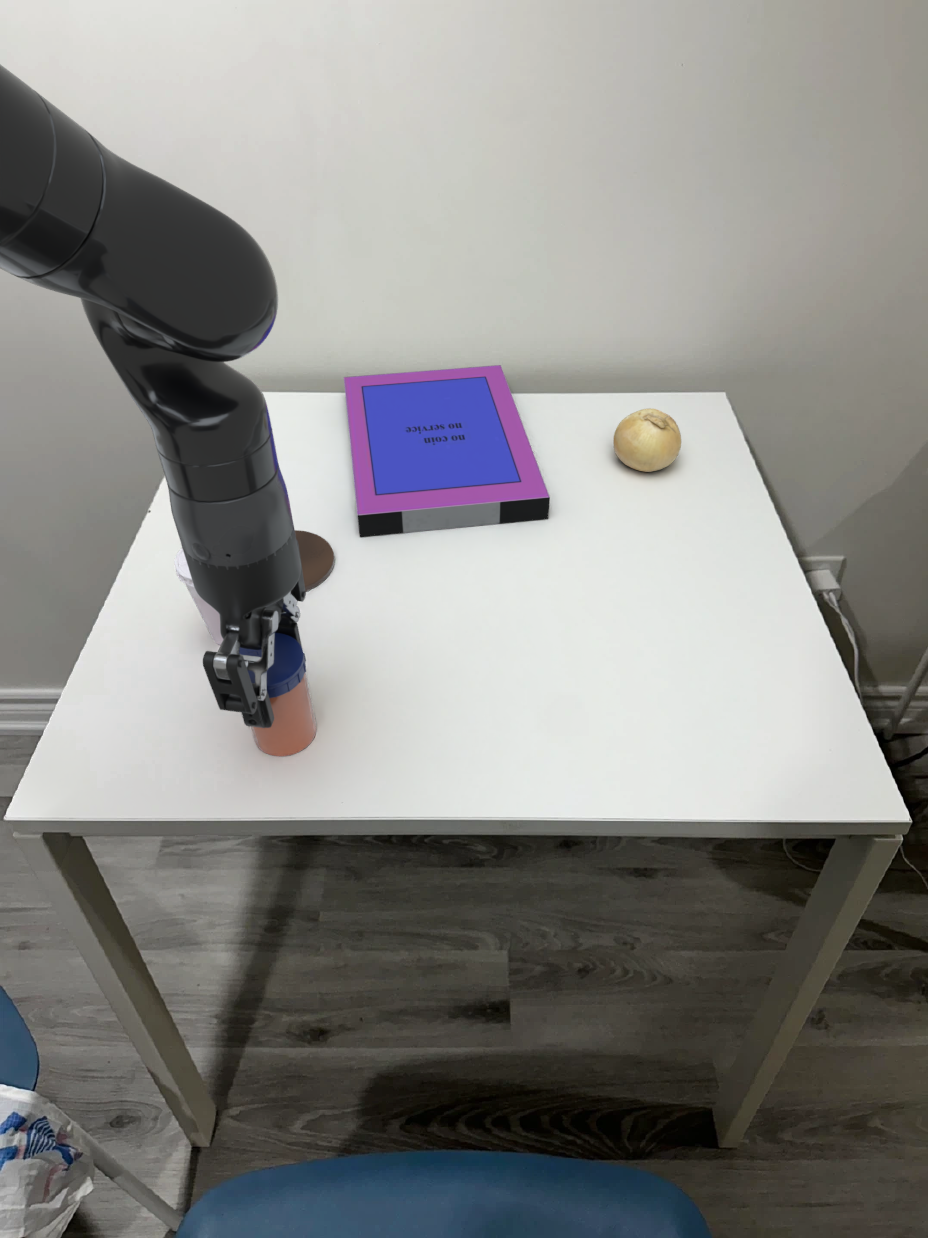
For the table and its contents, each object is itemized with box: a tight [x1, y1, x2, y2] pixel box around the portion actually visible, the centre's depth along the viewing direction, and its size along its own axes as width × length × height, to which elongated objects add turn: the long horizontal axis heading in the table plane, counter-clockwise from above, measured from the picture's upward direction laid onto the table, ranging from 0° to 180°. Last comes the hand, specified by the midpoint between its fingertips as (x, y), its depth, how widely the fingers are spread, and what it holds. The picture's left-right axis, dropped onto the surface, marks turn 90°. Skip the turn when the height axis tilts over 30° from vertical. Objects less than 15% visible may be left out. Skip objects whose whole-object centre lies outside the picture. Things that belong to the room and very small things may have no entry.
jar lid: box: [239, 633, 307, 698], centre depth 67 cm, size 6×6×1 cm
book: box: [343, 364, 551, 538], centre depth 103 cm, size 21×3×30 cm
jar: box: [249, 671, 317, 757], centre depth 71 cm, size 5×5×9 cm
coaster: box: [295, 529, 335, 592], centre depth 89 cm, size 10×10×1 cm
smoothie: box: [173, 547, 223, 646], centre depth 77 cm, size 6×6×14 cm
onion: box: [612, 407, 682, 473], centre depth 100 cm, size 8×8×7 cm
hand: (275, 687), depth 69 cm, fingers open, 7 cm apart
